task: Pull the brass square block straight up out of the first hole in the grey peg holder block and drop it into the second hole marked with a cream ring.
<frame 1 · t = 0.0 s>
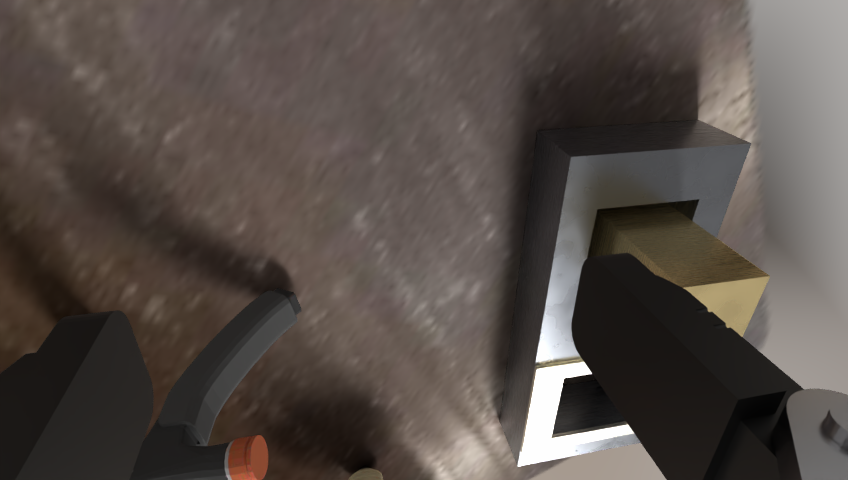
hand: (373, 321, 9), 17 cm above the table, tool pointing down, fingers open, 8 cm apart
grey peg holder block: (583, 294, 34), on the table
red two-lobed part: (364, 467, 39), on the table
brass block: (599, 218, 31), resting in grey peg holder block
hand grip strengthener: (192, 316, 28), on the table
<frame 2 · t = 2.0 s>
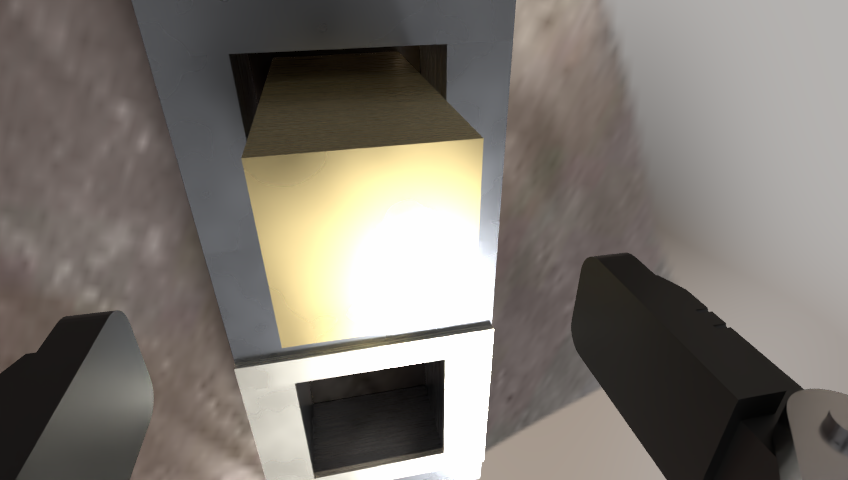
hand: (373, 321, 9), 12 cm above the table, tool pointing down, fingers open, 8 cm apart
grey peg holder block: (356, 251, 21), on the table
brass block: (342, 115, 18), resting in grey peg holder block
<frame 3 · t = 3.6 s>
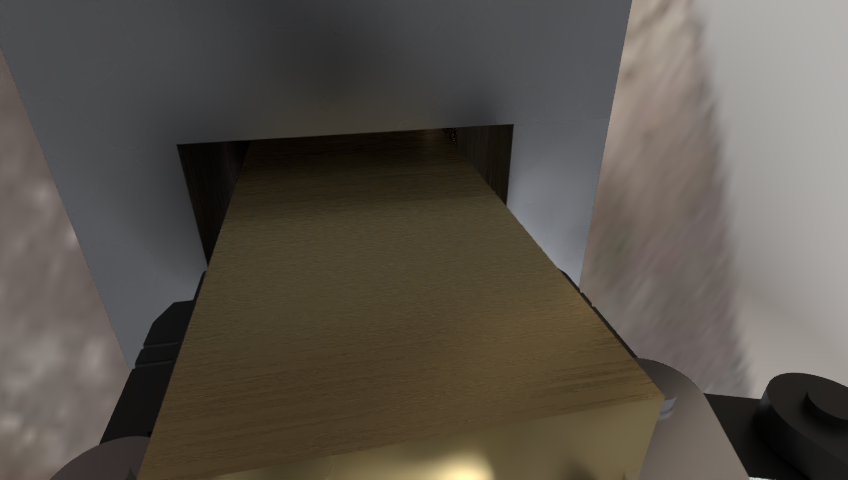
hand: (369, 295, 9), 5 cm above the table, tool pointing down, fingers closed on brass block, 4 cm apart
grey peg holder block: (364, 359, 16), on the table
brass block: (351, 196, 14), resting in grey peg holder block, touching gripper
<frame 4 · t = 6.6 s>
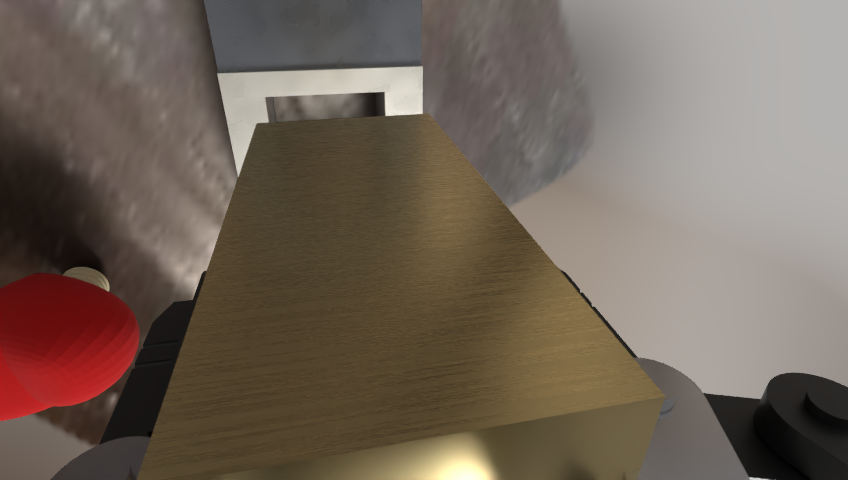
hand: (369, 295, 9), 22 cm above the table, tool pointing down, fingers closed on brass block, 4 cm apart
grey peg holder block: (317, 20, 27), on the table
red two-lobed part: (91, 275, 32), on the table
brass block: (351, 196, 14), point 17 cm above the table, touching gripper
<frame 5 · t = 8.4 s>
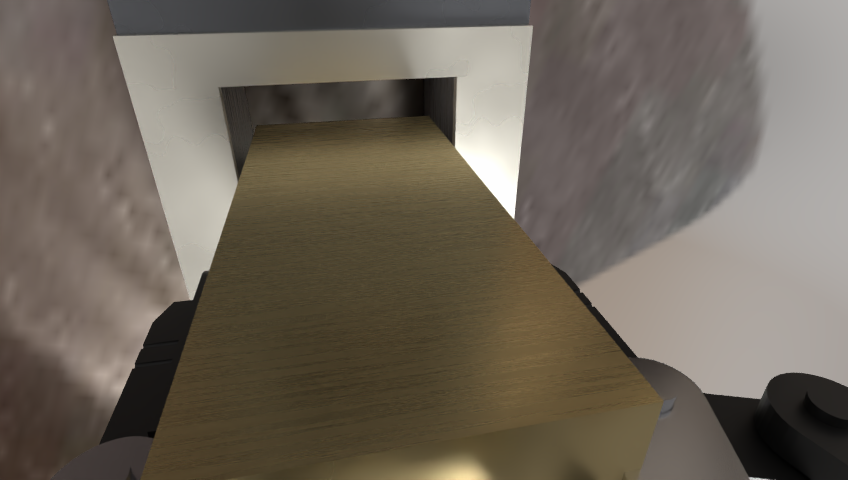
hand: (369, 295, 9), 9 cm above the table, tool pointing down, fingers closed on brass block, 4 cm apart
brass block: (351, 198, 14), point 5 cm above the table, touching gripper
when the fingers open (6 cm above the table, at t = 9.6 s): brass block stays where it is, resting in grey peg holder block.
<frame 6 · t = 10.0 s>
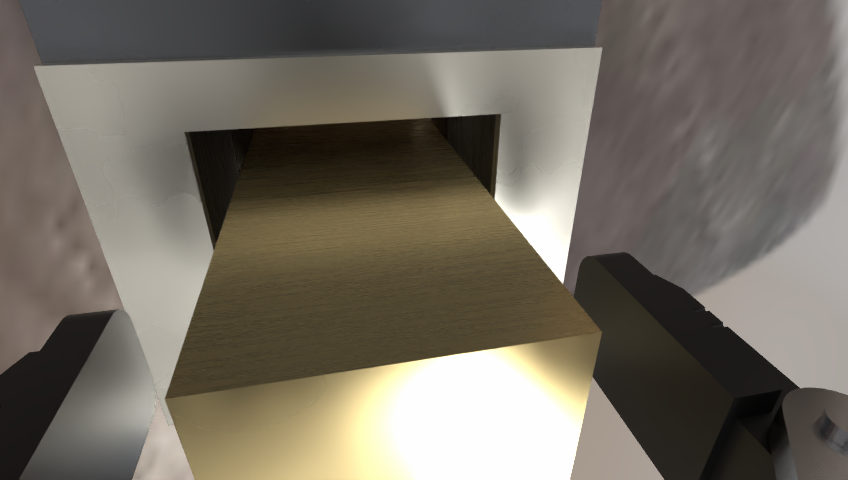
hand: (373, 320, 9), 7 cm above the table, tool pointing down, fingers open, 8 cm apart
brass block: (348, 185, 14), resting in grey peg holder block
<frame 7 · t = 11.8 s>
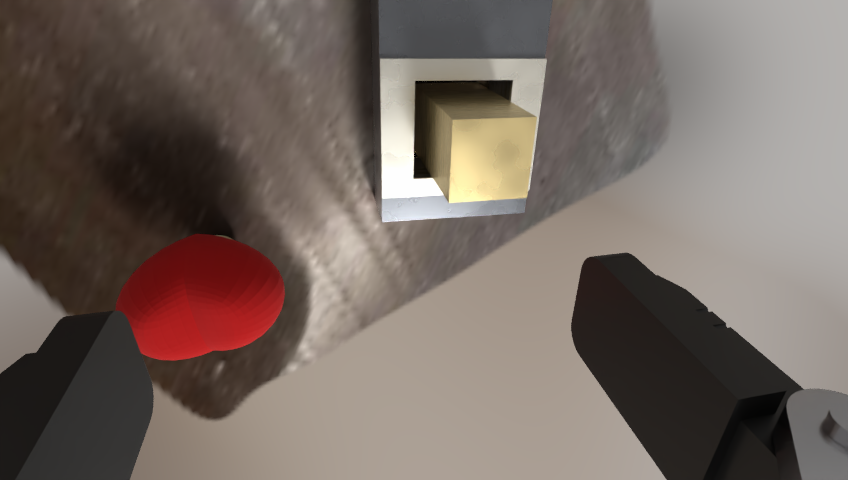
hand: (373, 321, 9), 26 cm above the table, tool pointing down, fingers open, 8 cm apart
grey peg holder block: (449, 19, 31), on the table
red two-lobed part: (222, 244, 35), on the table
brass block: (444, 115, 34), resting in grey peg holder block
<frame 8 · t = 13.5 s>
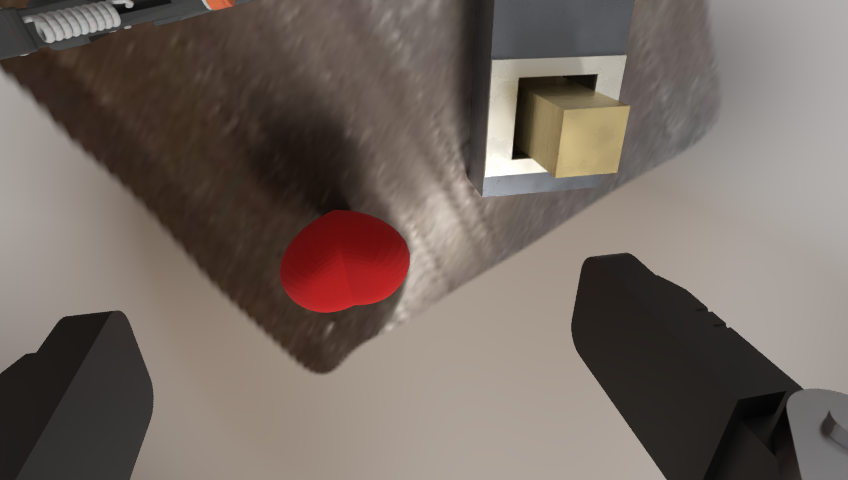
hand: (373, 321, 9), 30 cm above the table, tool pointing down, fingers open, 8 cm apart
grey peg holder block: (539, 23, 36), on the table
red two-lobed part: (340, 220, 41), on the table
brass block: (530, 105, 39), resting in grey peg holder block
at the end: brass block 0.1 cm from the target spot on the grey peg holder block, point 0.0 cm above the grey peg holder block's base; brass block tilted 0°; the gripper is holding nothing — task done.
